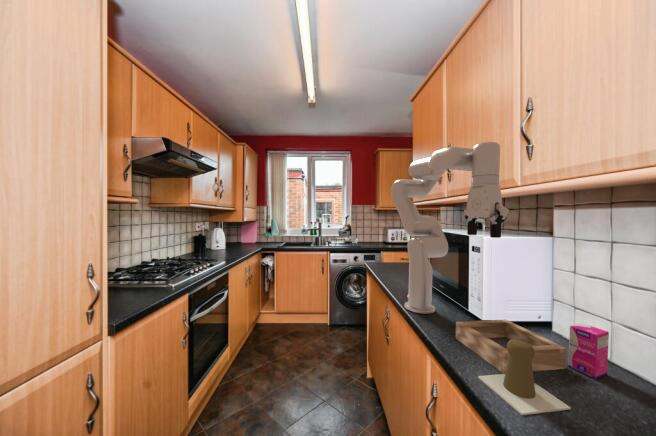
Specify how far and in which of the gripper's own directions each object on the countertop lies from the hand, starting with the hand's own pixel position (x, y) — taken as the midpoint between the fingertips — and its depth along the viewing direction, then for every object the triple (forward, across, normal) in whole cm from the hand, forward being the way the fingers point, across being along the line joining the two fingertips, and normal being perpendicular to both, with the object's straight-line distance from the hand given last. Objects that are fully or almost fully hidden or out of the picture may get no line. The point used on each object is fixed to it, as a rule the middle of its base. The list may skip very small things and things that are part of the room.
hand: (483, 236), depth 81 cm
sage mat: (+34, +22, -8) cm, 42 cm away
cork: (+34, +22, -8) cm, 41 cm away
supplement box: (+34, +17, +18) cm, 42 cm away
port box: (+34, +6, +4) cm, 35 cm away
